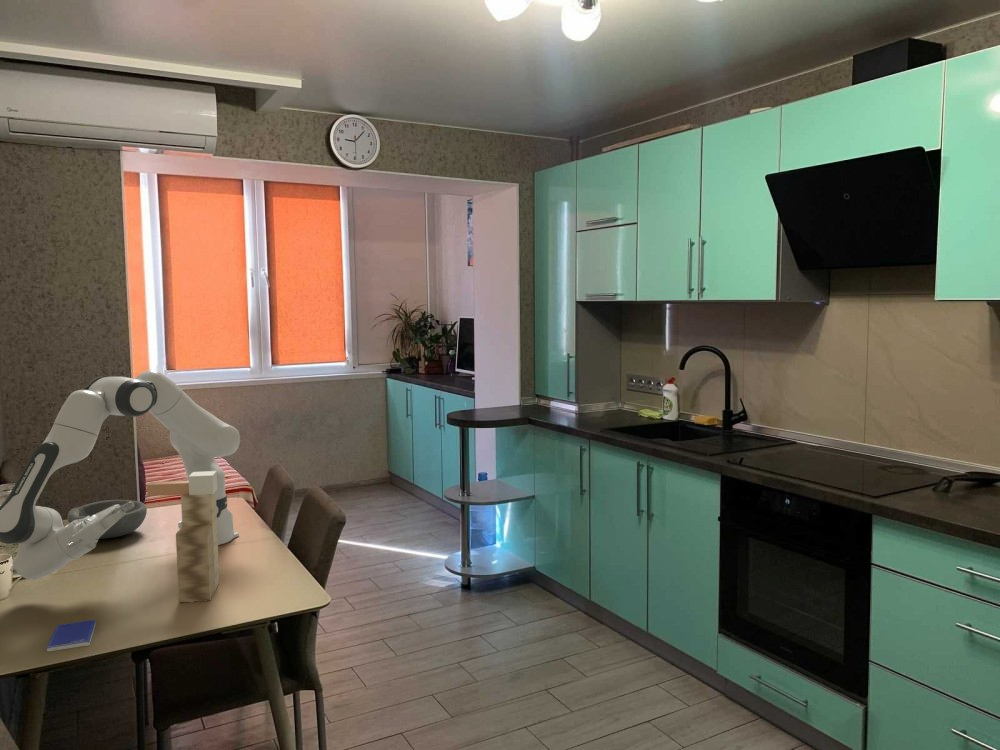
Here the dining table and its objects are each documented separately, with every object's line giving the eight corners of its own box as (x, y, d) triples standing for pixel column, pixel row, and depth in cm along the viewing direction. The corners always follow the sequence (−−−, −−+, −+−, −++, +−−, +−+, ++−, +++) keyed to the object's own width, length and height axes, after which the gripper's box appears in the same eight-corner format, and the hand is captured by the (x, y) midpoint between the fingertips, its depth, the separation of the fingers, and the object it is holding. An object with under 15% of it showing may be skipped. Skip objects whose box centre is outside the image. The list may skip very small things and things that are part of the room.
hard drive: (89, 640, 166) (95, 619, 177) (46, 647, 163) (56, 625, 174) (89, 647, 166) (96, 625, 177) (47, 653, 163) (56, 631, 174)
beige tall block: (178, 603, 189) (174, 502, 187) (190, 584, 202) (186, 490, 200) (210, 600, 191) (206, 501, 188) (219, 582, 203) (215, 489, 201)
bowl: (115, 549, 233) (113, 518, 232) (53, 545, 237) (51, 514, 236) (162, 528, 255) (161, 499, 254) (105, 524, 259) (103, 496, 259)
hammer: (217, 489, 201) (216, 470, 200) (213, 494, 196) (212, 475, 195) (152, 492, 198) (151, 473, 197) (146, 497, 192) (145, 478, 192)
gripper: (55, 539, 182) (106, 509, 184) (85, 516, 202) (131, 489, 204) (71, 560, 183) (121, 530, 185) (99, 535, 203) (145, 508, 205)
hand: (127, 508), depth 195 cm, fingers open, 8 cm apart
